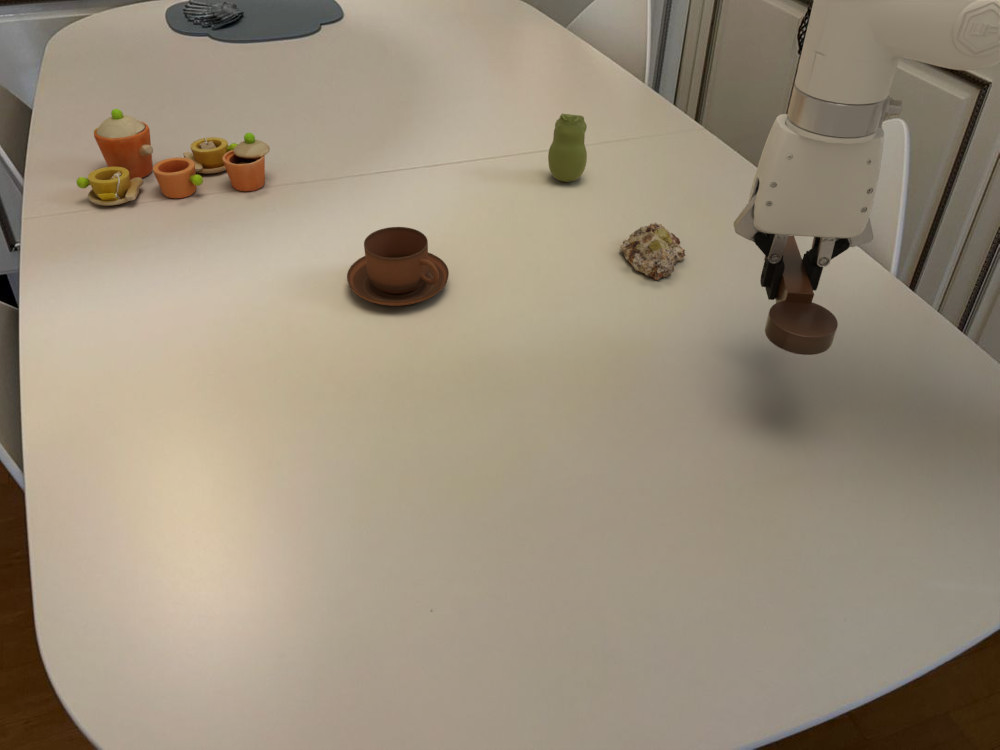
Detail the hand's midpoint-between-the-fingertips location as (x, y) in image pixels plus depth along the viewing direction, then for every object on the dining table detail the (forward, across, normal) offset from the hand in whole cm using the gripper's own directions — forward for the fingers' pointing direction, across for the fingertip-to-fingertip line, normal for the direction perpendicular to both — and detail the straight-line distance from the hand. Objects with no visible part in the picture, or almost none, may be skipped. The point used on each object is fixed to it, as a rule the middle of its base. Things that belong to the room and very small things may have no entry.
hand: (786, 292), depth 84 cm
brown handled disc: (0, 0, +2) cm, 2 cm away
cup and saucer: (+11, +41, -12) cm, 44 cm away
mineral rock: (+11, +11, -22) cm, 27 cm away
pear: (+11, +23, -44) cm, 51 cm away
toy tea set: (+11, +78, -37) cm, 87 cm away
